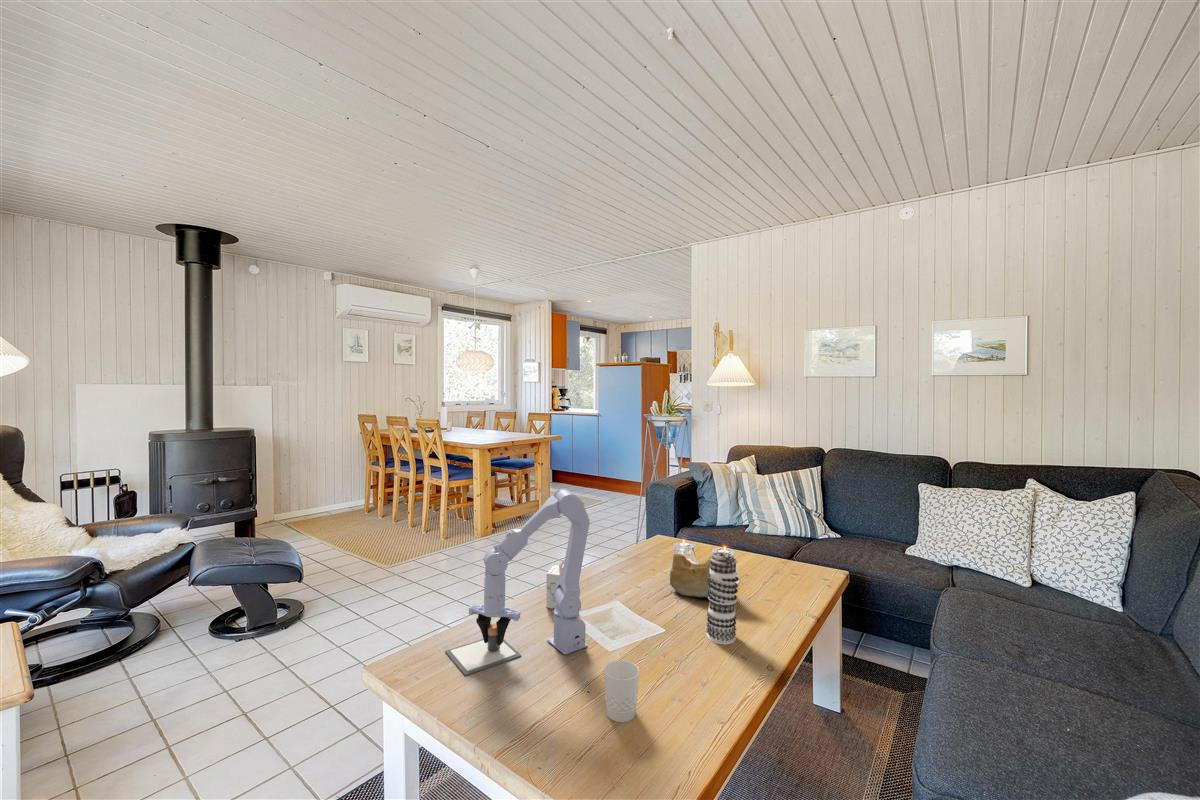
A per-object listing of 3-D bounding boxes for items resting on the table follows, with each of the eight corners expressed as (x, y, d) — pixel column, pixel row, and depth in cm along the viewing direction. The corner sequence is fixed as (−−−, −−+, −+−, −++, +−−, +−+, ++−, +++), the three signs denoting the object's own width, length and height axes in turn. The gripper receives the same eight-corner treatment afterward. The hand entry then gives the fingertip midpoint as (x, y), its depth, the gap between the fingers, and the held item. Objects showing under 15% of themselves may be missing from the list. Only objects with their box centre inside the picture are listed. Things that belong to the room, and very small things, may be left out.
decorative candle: (739, 633, 150) (741, 552, 150) (734, 648, 142) (736, 561, 141) (709, 627, 154) (711, 547, 154) (702, 640, 146) (704, 556, 145)
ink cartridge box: (552, 597, 174) (553, 556, 173) (566, 599, 173) (567, 557, 172) (545, 607, 165) (546, 564, 165) (559, 609, 164) (560, 565, 164)
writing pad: (521, 656, 135) (521, 654, 135) (465, 676, 125) (465, 673, 125) (498, 635, 146) (498, 633, 146) (445, 652, 136) (445, 650, 136)
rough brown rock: (744, 597, 179) (745, 555, 180) (727, 609, 166) (728, 564, 167) (686, 583, 193) (687, 544, 194) (666, 593, 179) (667, 552, 180)
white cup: (601, 702, 116) (602, 660, 116) (635, 701, 116) (636, 659, 116) (605, 725, 108) (606, 680, 108) (640, 724, 109) (641, 679, 108)
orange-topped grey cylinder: (502, 648, 137) (503, 626, 137) (492, 653, 134) (492, 631, 134) (494, 643, 139) (495, 622, 139) (484, 648, 136) (484, 626, 136)
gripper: (524, 591, 138) (523, 638, 139) (477, 585, 142) (476, 632, 142) (514, 601, 132) (513, 651, 132) (465, 595, 135) (464, 644, 135)
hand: (493, 642), depth 136 cm, fingers closed on orange-topped grey cylinder, 3 cm apart
